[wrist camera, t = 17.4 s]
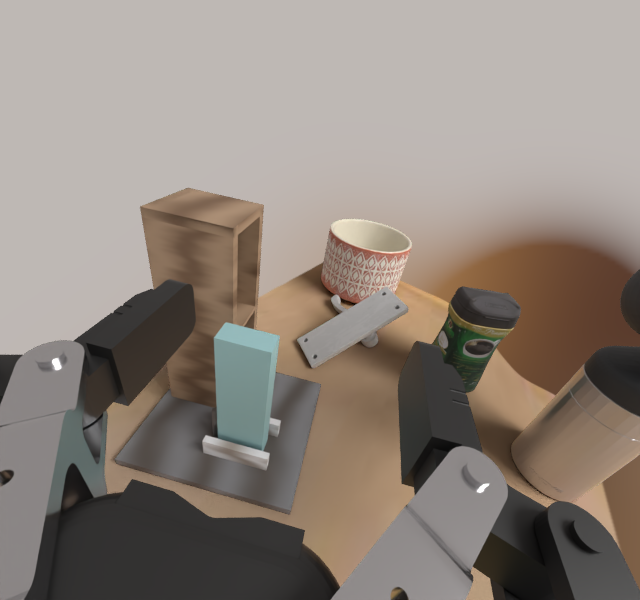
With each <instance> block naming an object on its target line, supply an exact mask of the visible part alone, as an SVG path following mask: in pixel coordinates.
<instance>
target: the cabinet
mask: <svg viewBox="0 0 640 600" xmlns="http://www.w3.org/2000/svg"><path fill="white" fill-rule="evenodd" d="M140 208H141V215H142V221H143V226H144V233H145V239H146V245H147V251H148V257H149V263H150V269H151V274H152V281H153V287H154V289H156V288H157V287H158V286H159V285H161V284H162V283H163V282H165V281H166V280H168V279H172V280H176V281H180V282H184V283H188V284H191V285H192V287H193V290H194V302H195V315H196V322H195V326H194V329H193V331H192V333H191V335H190V336H189V337H188V338H187V339H186V340H185V342H184V343H183V344H182V345H181V346H180V347H179V348H178V350H177V351H176V352H175V353H174V354H173V355H172V356H171V358H170V359H169V360H168V361H167V362H166V365H167V371H168V377H169V383H170V389H169V390H168V391H167V393H166V394H165V395H164V396H163V398H162V399H161V400H160V402H159V403H158V404H157V405H156V407H155V408H154V409H153V411H152V412H151V413H150V414H149V416H148V417H147V418H146V420H145V421H144V422H143V423H142V425H141V426H140V427H139V429H138V430H137V431H136V432H135V434H134V435H133V436H132V438H131V439H130V440H129V441H128V443H127V444H126V445H125V447H124V448H123V449H122V450H121V452H120V453H119V454H118V456H117V457H116V458H115V461H116V464H119V465H123V466H126V467H130V468H133V469H136V470H140V471H143V472H147V473H150V474H153V475H157V476H160V477H164V478H167V479H170V480H174V481H177V482H181V483H184V484H187V485H191V486H194V487H198V488H201V489H204V490H208V491H211V492H215V493H218V494H221V495H225V496H228V497H232V498H235V499H238V500H242V501H245V502H249V503H252V504H256V505H259V506H262V507H266V508H269V509H273V510H276V511H279V512H283V513H286V514H290V512H291V508H292V503H293V499H294V495H295V491H296V487H297V483H298V478H299V474H300V470H301V466H302V462H303V458H304V453H305V449H306V445H307V441H308V437H309V433H310V428H311V424H312V420H313V416H314V412H315V408H316V403H317V399H318V395H319V391H320V387H321V384H319V383H315V382H311V381H307V380H303V379H300V378H296V377H292V376H288V375H284V374H280V373H277V372H275V380H274V389H273V397H272V406H271V414H270V423H269V431H268V439H267V442H266V445H265V448H264V450H263V451H260V450H257V449H253V448H250V447H246V446H242V445H239V444H235V443H232V442H228V441H225V440H221V439H218V427H217V402H216V378H215V354H214V337H215V336H216V334H217V333H218V332H219V330H220V329H221V328H222V326H223V325H224V324H225V323H226V322H227V323H231V324H235V325H239V326H243V327H247V328H251V329H255V330H256V324H257V307H258V291H259V274H260V256H261V239H262V224H263V208H264V205H262V204H258V203H253V202H248V201H244V200H240V199H235V198H231V197H226V196H222V195H217V194H213V193H209V192H204V191H200V190H195V189H191V188H186V189H184V190H181V191H179V192H176V193H173V194H171V195H168V196H166V197H163V198H161V199H158V200H156V201H153V202H151V203H148V204H146V205H143V206H141V207H140Z"/></svg>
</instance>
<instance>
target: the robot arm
mask: <svg viewBox="0 0 640 600" xmlns="http://www.w3.org/2000/svg"><path fill="white" fill-rule="evenodd" d="M621 311H622V314H623V317H624V319H625V320H626V322H627V323H628V324H629V326H630V327H631V328H632V329H633V330H635V331H636V332H637V333H639V334H640V270H638V271H637V272H636V273H635V274H634V275H633V276H632V277H631V278H630V279H629V280H628V282H627V283H626V285H625V287H624V289H623V291H622V295H621ZM195 322H196V315H195V302H194V290H193V287H192V285H191V284H188V283H184V282H180V281H176V280H172V279H168V280H166V281H165V282H163V283H162V284H161V285H159V286H158V287H157V288H156V289H154V290H153V289H150V290H148V291H145V292H142V293H140V294H137V295H135V296H134V297H132V298H131V299H130V300H128V301H127V302H125V303H124V305H123V306H120V307H119V308H117V309H116V310H115V311H114V313H111V314H110V315H108V316H107V317H105V318H104V319H103V320H101V321H100V322H99V323H97V324H96V325H94V326H93V327H92V328H90V329H89V330H88V331H86V332H85V333H84V334H82V335H81V336H80V337H78V338H77V339H75V340H74V341H67V340H65V341H64V340H63V341H54V342H49V343H46V344H42V345H40V346H37V347H35V348H33V349H31V350H29V351H28V352H26V353H25V354H24V355H0V600H465V599H466V597H467V595H468V593H469V591H470V588H471V586H472V583H473V575H472V574H471V569H472V567H474V568H476V569H477V570H479V571H480V572H482V573H483V574H484V575H486V576H487V577H489V578H490V580H491V586H492V592H493V597H494V600H640V590H639V588H638V586H637V584H636V582H635V580H634V578H633V576H632V574H631V572H630V569H629V567H628V565H627V563H626V561H625V559H624V557H623V555H622V553H621V551H620V549H619V547H618V545H617V543H616V542H615V540H614V539H613V537H612V536H611V535H610V533H609V532H608V531H607V530H606V529H605V527H604V526H603V525H602V524H601V523H600V522H599V521H598V520H597V519H595V518H594V517H593V516H592V515H591V514H589V513H588V512H587V511H585V510H584V509H582V508H580V507H578V506H576V505H574V504H572V503H569V502H573V501H575V500H577V499H579V498H580V497H582V496H583V495H584V494H586V493H587V492H589V491H590V490H591V489H593V488H594V487H596V486H597V485H599V484H600V483H601V482H603V481H604V480H605V479H607V478H608V477H609V476H611V475H612V474H613V473H615V472H616V471H618V470H619V469H620V468H622V467H623V466H625V465H626V464H627V463H629V462H630V461H631V460H633V459H634V458H636V457H637V456H638V455H640V347H628V346H608V347H604V348H601V349H599V350H598V351H596V352H595V353H594V354H593V355H592V356H591V357H590V358H589V359H588V361H587V362H586V363H585V364H584V365H583V366H582V367H581V368H580V369H579V371H578V372H577V373H576V374H575V375H574V376H573V377H572V378H571V380H570V381H569V382H568V383H567V384H566V385H565V386H564V387H563V388H562V389H561V390H560V391H559V393H558V394H557V395H556V396H555V397H554V398H553V399H552V400H551V401H550V402H549V403H548V405H547V406H546V407H545V408H544V409H543V410H542V411H541V412H540V413H539V414H538V415H537V417H536V418H535V419H534V420H533V421H532V422H531V423H530V424H529V425H528V426H527V427H526V428H525V429H524V430H523V432H522V433H521V434H520V435H519V436H518V437H517V438H516V439H515V440H514V442H513V443H512V446H511V454H512V457H513V460H514V463H515V464H516V466H517V468H518V469H519V471H520V472H521V474H522V475H523V476H524V477H525V478H526V479H527V480H528V482H529V483H531V484H532V485H533V486H534V487H535V488H536V489H538V490H539V491H541V492H542V493H543V494H545V495H547V496H549V497H551V498H553V499H555V500H558V502H555V503H553V504H551V505H550V506H549V507H547V508H546V507H544V506H543V505H541V504H539V503H537V502H536V501H534V500H532V499H531V498H529V497H527V496H525V495H524V494H522V493H520V492H518V491H517V490H515V489H513V488H512V487H510V486H509V485H508V484H506V481H505V478H504V476H503V474H502V473H501V471H500V470H499V468H498V467H497V466H496V465H495V463H494V462H493V461H492V460H491V459H489V458H488V457H487V456H486V455H484V454H483V451H482V448H481V444H480V441H479V437H478V434H477V430H476V427H475V423H474V419H473V416H472V412H471V409H470V407H469V401H468V398H467V395H466V391H465V387H464V384H463V380H462V378H461V376H460V375H459V374H458V372H457V371H456V369H455V368H454V367H453V365H449V364H445V363H444V361H443V356H442V352H441V348H440V347H439V346H436V345H432V344H428V343H424V342H420V341H416V342H415V343H414V345H413V347H412V349H411V352H410V354H409V356H408V358H407V361H406V363H405V365H404V367H403V369H402V372H401V375H400V378H399V384H398V401H399V426H400V451H401V476H402V484H405V485H408V486H412V487H414V492H415V496H414V497H413V499H412V500H411V501H410V502H409V503H408V505H406V506H405V507H404V509H403V510H402V511H401V512H400V514H399V515H398V516H397V517H396V519H395V520H394V521H393V522H392V524H391V525H390V526H389V527H388V529H387V530H386V531H385V532H384V534H383V535H382V536H381V537H380V539H379V540H378V541H377V542H376V544H375V545H374V546H373V547H372V549H371V550H370V551H369V552H368V554H367V555H366V556H365V557H364V559H363V560H362V561H361V562H360V564H359V565H358V566H357V567H356V569H355V570H354V571H353V572H352V574H351V575H350V576H349V577H348V579H347V580H346V581H345V582H344V584H343V585H342V586H341V587H340V586H339V584H338V582H337V580H336V579H335V577H334V576H333V574H332V573H331V571H330V570H329V568H328V567H327V566H326V565H325V563H324V562H323V561H322V560H321V559H320V557H318V556H317V555H316V554H315V553H314V552H313V551H312V550H311V549H309V548H308V547H307V546H305V545H304V544H302V542H303V537H304V532H305V530H302V529H299V528H295V527H292V526H288V525H285V524H282V523H278V522H275V521H272V520H268V519H265V518H261V517H256V518H212V517H209V516H207V515H206V514H204V513H203V512H201V511H200V510H199V509H197V508H196V507H194V506H193V505H192V504H190V503H189V502H187V501H186V500H185V499H183V498H182V497H180V496H179V495H178V494H176V493H175V492H173V491H170V490H167V489H163V488H160V487H157V486H153V485H150V484H147V483H143V482H140V481H136V480H133V479H132V480H131V482H130V483H129V485H128V486H127V487H126V489H125V490H124V492H120V493H113V494H107V488H106V482H105V475H104V466H105V450H106V433H107V417H108V415H107V411H106V409H107V408H108V407H109V406H110V405H111V404H112V403H113V402H116V403H119V404H123V405H127V406H129V405H130V403H131V402H132V401H133V400H134V399H135V398H136V397H137V395H138V394H139V393H140V392H141V391H142V390H143V389H144V387H145V386H146V385H147V384H148V383H149V382H150V381H151V379H152V378H153V377H154V376H155V375H156V374H157V373H158V371H159V370H160V369H161V368H162V367H163V366H164V364H165V363H166V362H167V361H168V360H169V359H170V358H171V356H172V355H173V354H174V353H175V352H176V351H177V350H178V348H179V347H180V346H181V345H182V344H183V343H184V342H185V340H186V339H187V338H188V337H189V336H190V335H191V333H192V331H193V329H194V326H195Z"/></svg>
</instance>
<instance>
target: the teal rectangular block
mask: <svg viewBox="0 0 640 600" xmlns="http://www.w3.org/2000/svg"><path fill="white" fill-rule="evenodd" d="M279 338H280V336H278V335H274V334H270V333H267V332H263V331H259V330H255V329H251V328H247V327H243V326H239V325H235V324H231V323H227V322H226V323H225V324H224V325H223V326H222V328H221V329H220V330H219V332H218V333H217V334H216V336H215V337H214V354H215V378H216V402H217V427H218V439H221V440H225V441H228V442H232V443H235V444H239V445H242V446H246V447H250V448H253V449H257V450H260V451H263V450H264V448H265V445H266V442H267V439H268V431H269V423H270V414H271V406H272V397H273V389H274V380H275V372H276V363H277V355H278V346H279Z"/></svg>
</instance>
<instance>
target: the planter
mask: <svg viewBox="0 0 640 600" xmlns="http://www.w3.org/2000/svg"><path fill="white" fill-rule="evenodd" d="M411 247H412V243H411V240H410V239H409V238H408V237H407V236H406V235H405V234H403V233H402V232H400V231H398V230H396V229H394V228H392V227H390V226H387V225H384V224H381V223H377V222H373V221H368V220H362V219H341V220H338V221H335V222H334V223H332V224H331V227H330V231H329V237H328V242H327V248H326V252H325V258H324V263H323V268H322V273H321V280H322V283H323V284H324V286H325V287H326V288H327V289H328V290H329V291H330V292H332V293H333V294H335V295H336V294H337V295H338V296H339V297H340V298H341V299H343V300H346V301H348V302H352V303H356V304H358V303H359V302H361V301H363V300H364V299H366V298H368V297H369V296H371V295H373V294H374V293H376V292H378V291H380V290H381V289H383V288H385V287H388V288H389V289H390V290H391V291H392V292H393V293H394V294H395V292H396V289H397V286H398V283H399V280H400V277H401V275H402V272H403V269H404V267H405V264H406V261H407V258H408V255H409V253H410V250H411Z"/></svg>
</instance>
